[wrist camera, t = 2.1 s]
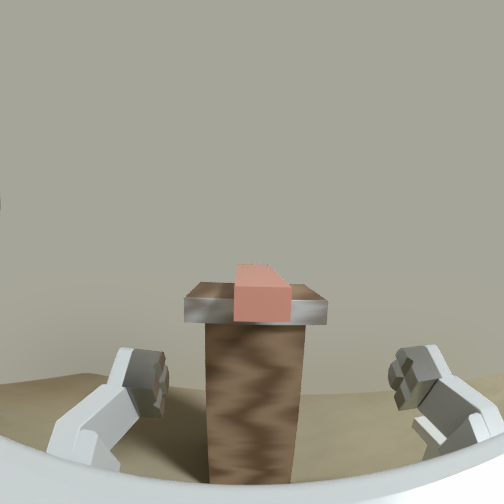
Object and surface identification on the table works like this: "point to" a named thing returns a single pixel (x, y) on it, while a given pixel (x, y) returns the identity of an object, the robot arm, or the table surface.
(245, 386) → the brown pedestal
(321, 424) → the table surface
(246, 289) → the salmon pink flat bar
